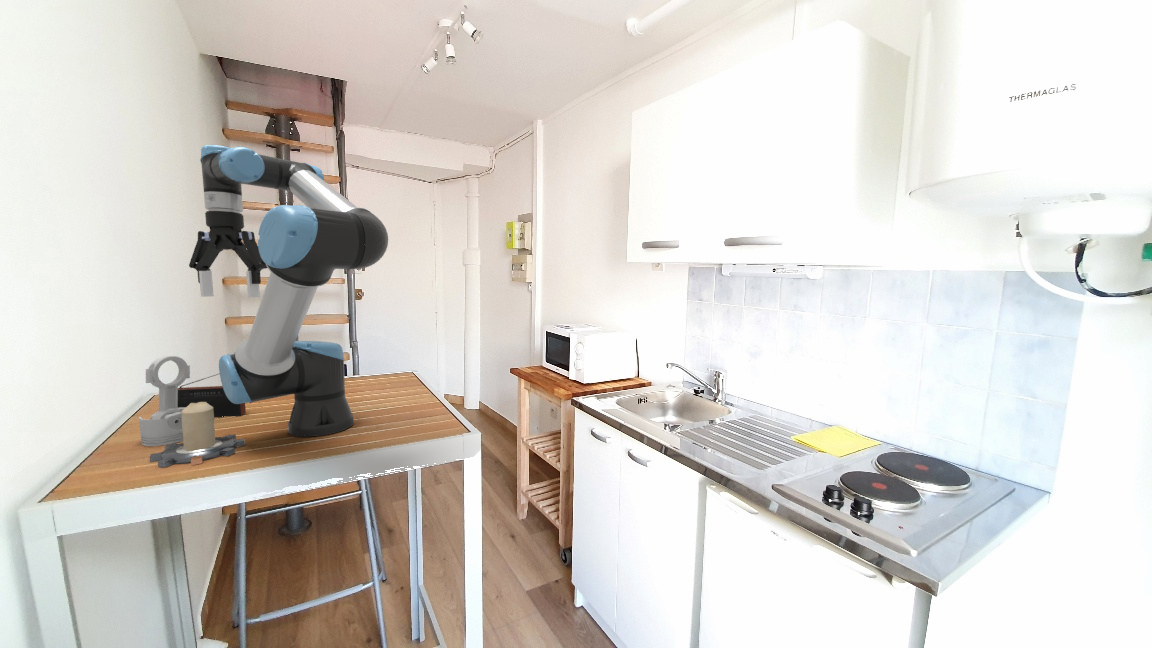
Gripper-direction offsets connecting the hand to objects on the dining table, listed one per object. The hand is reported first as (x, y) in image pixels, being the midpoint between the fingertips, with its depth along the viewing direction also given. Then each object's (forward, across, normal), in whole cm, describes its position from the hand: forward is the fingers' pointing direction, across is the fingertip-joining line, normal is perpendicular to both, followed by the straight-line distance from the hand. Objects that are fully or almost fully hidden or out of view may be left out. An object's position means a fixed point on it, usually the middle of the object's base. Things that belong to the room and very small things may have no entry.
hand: (230, 297), depth 113 cm
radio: (+35, -16, +8) cm, 40 cm away
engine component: (+35, -11, -8) cm, 37 cm away
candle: (+34, +5, -15) cm, 37 cm away
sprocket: (+35, +5, -15) cm, 38 cm away
